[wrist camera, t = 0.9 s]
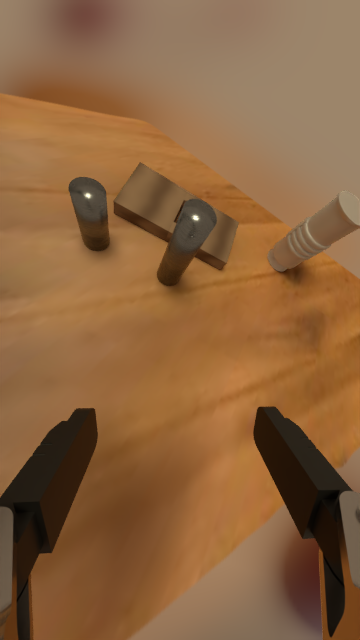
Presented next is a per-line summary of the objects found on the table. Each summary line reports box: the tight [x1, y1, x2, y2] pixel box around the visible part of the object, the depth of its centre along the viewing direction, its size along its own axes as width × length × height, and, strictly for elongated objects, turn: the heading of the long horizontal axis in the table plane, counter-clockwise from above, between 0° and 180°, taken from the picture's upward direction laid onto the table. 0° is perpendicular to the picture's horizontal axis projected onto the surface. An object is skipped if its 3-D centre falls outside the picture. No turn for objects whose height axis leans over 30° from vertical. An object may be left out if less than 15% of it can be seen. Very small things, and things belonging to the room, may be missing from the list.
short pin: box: [69, 177, 109, 251], centre depth 26 cm, size 4×4×9 cm
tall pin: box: [157, 199, 217, 286], centre depth 26 cm, size 4×4×14 cm
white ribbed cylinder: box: [268, 191, 360, 272], centre depth 36 cm, size 7×7×15 cm
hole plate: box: [114, 162, 239, 270], centre depth 35 cm, size 22×11×2 cm, turn 70°
